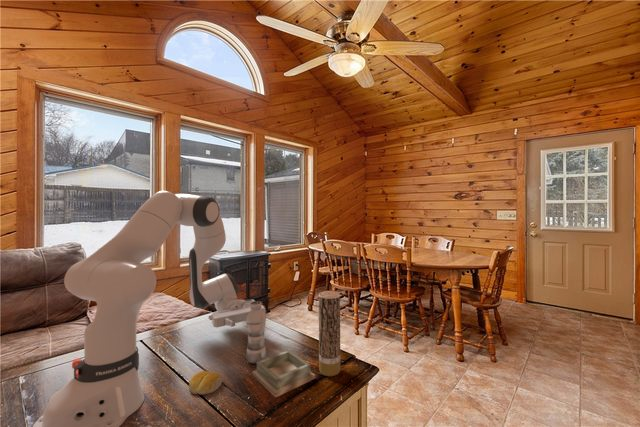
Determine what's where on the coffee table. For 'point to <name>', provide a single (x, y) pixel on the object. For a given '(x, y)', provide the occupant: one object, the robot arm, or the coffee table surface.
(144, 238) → the robot arm
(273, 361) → the bottle stand
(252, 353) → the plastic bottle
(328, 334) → the paper tube
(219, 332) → the coffee table surface
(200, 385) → the bread roll
